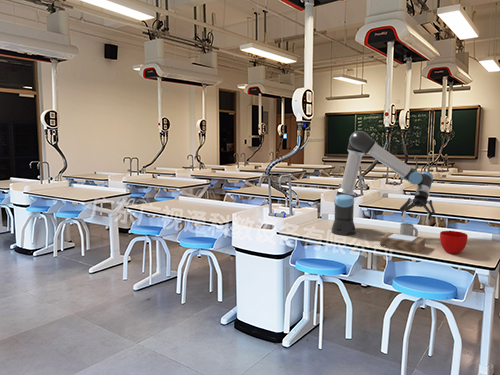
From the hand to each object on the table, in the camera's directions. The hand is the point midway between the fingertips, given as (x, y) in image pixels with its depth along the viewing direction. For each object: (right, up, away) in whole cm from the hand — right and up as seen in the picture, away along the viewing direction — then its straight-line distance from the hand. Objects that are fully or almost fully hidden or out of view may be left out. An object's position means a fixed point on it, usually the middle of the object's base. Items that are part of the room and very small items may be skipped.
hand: (414, 222), depth 237 cm
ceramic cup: (+9, -13, -25) cm, 30 cm away
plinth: (-13, -12, -16) cm, 24 cm away
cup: (-4, -10, -2) cm, 11 cm away
